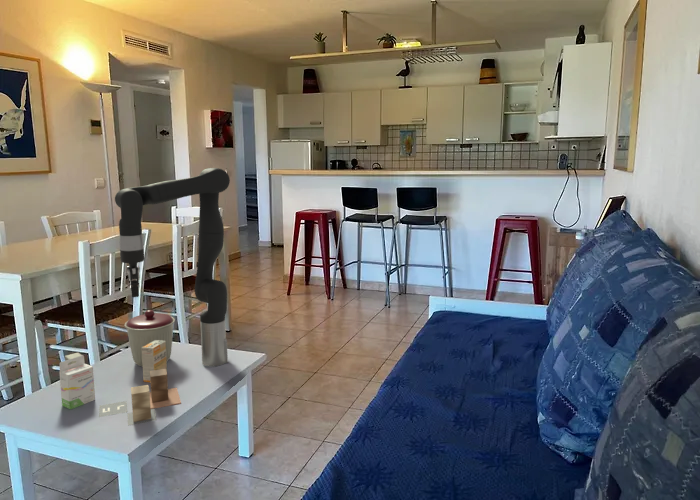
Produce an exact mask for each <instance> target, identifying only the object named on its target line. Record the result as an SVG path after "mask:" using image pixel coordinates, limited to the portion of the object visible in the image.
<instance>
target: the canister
mask: <svg viewBox="0 0 700 500" xmlns="http://www.w3.org/2000/svg"><path fill="white" fill-rule="evenodd" d="M175 322H176V321H175V317H173V316H171V315H169V314H168V313H167V314H166V313H159V312H157V313H156V312H155V311H154V310H153V309H147V310H146V311H145V312H144V314H140V315H136V316H133V317H131V318H130V319H128V320H127V321H125V323H124V327H125V329H126V331H127V336H128V341H129V346H130V353H131V356H132V359H133V362H134V364H136V365H137V366H139V367H143V365H142V347H143V346H145V345H147V344H149V343H150V342H152V341H154V340H162V341H166V362H168V361H169V360H170V359H171V355H172V349H173V348H172V347H173V335H174V334H173V332H174V324H175Z"/></svg>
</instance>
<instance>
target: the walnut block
mask: <svg viewBox="0 0 700 500" xmlns="http://www.w3.org/2000/svg"><path fill="white" fill-rule="evenodd" d="M168 387H169V386H168V371H167V372H166V369H160V370H153V371H150V392H151V398H152V403H155V402H161V401H166V400H169V399H168V389H169V388H168Z"/></svg>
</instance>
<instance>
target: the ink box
mask: <svg viewBox="0 0 700 500" xmlns="http://www.w3.org/2000/svg"><path fill="white" fill-rule="evenodd" d="M81 355H82V356H79V357H75V358H72V359H69V360H63V361H60V362H59V373H58V374H59V383H60V385H59V386H60V395H61V406H62V407H64V408H67V409H68V410H73V409H77V408H79V407H80V406H83V405H86V404H88V403H90V402H92V401H95V400H96V391H95V378H94V377H95V375H94V367H93V366H92V365H90V364H87V363H85V364H84V360H85V355H83V354H81ZM71 361H76V363H73V364H70V365H68V363H70V362H71Z"/></svg>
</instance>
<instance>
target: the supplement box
mask: <svg viewBox="0 0 700 500" xmlns="http://www.w3.org/2000/svg"><path fill="white" fill-rule="evenodd" d="M167 362H168V361H167ZM167 362H166V341H162V340H154V341H152V342H150V343H149V344H147V345H145V346H143V347H142V365H143V366H142V376H143V377H142V378H143V379H142V380H143V382H144V383H150V371H153V370H160V369H166V372H167V373H168V369H167V368H168V367H167V366H168V365H167Z"/></svg>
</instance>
